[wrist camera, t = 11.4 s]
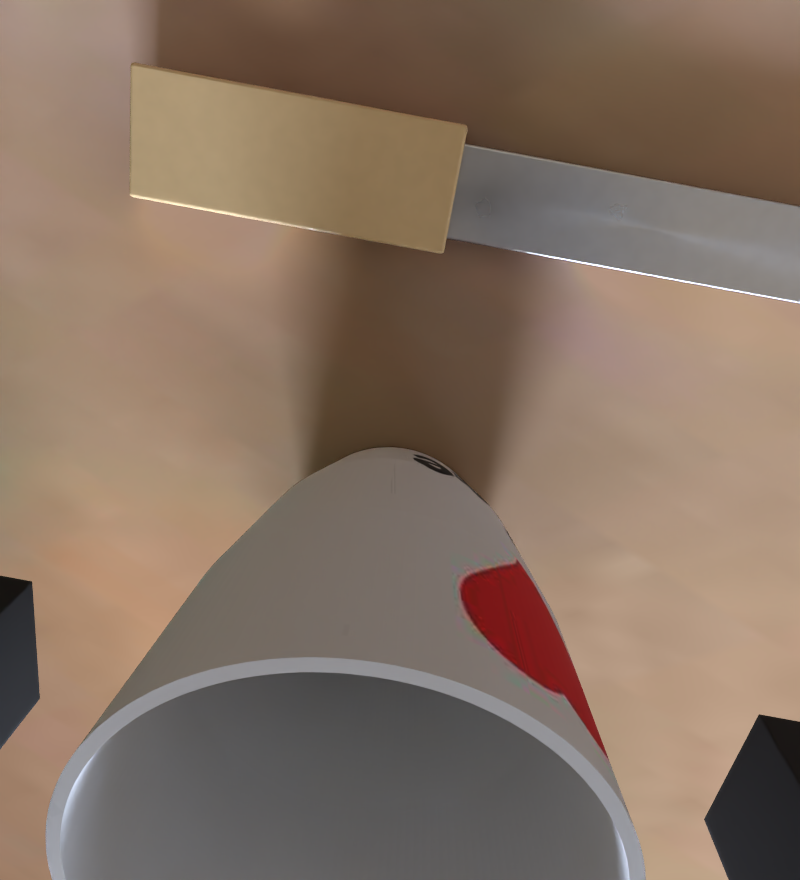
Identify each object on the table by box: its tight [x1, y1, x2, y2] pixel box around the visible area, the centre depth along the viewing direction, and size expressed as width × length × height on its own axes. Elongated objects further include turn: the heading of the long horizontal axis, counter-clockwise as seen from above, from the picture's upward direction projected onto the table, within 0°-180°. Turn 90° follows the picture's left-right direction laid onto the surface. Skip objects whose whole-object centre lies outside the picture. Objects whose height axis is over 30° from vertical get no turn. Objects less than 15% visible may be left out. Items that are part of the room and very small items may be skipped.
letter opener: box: [130, 63, 800, 304], centre depth 14 cm, size 18×3×1 cm, turn 80°
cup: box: [46, 447, 646, 880], centre depth 13 cm, size 8×8×10 cm
